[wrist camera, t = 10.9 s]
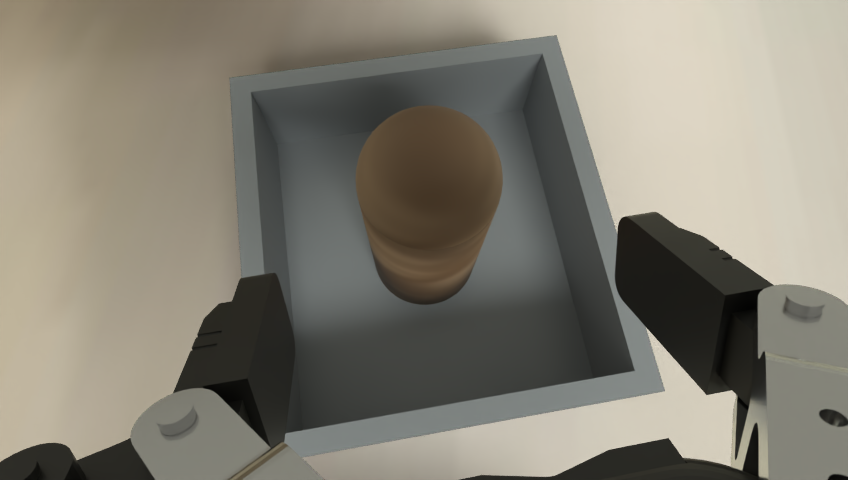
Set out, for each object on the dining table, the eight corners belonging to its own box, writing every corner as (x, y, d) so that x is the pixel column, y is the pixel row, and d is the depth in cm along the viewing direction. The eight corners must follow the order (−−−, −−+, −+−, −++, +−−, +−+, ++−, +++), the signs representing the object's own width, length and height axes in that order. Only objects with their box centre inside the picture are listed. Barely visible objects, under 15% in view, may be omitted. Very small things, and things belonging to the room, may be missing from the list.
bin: (289, 454, 21) (252, 466, 16) (263, 140, 26) (229, 77, 21) (611, 396, 22) (665, 391, 17) (531, 103, 27) (556, 35, 22)
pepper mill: (381, 312, 22) (357, 235, 13) (368, 217, 24) (338, 83, 14) (482, 296, 22) (532, 209, 13) (464, 203, 24) (496, 64, 14)
